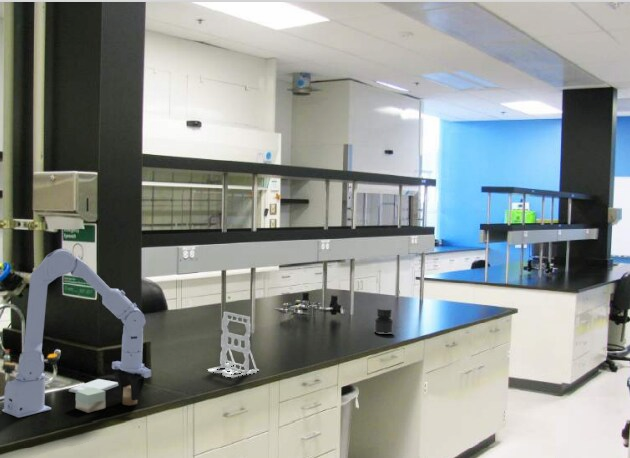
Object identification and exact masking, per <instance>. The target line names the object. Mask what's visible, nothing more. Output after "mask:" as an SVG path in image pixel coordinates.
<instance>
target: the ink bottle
mask: <svg viewBox="0 0 630 458" xmlns="http://www.w3.org/2000/svg"><path fill="white" fill-rule="evenodd" d="M376 311H377V312H376V315H377V317H376V318H375V319H374V330H373V332H374V331H376V332H384V333H388V332H392V331H394V320H393V319H392V312H393V310H392V308H388V307H387V308H386V307H378V308H377V309H376Z"/></svg>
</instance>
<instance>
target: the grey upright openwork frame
mask: <svg viewBox="0 0 630 458" xmlns="http://www.w3.org/2000/svg"><path fill="white" fill-rule="evenodd" d="M222 314H223V317H222V318H221V331H222V334H221V335H220V347H221V351H220V354H219V355H220V357H219V364H220V365H219V366H215V367H211V368H207V370H208V371H207V372H208V373H211V374H217V373H218V374H221V373H222V377H224V376H225V377H224V378H227V377H231V378H230V379H235V378H238V376H239V377H242V375H243V376H250V375H249V374H251V375H254V374H253V373H255V374H257V373H258V372H257V371H259V372H260V369H258V368H257V365H256V361H255V360H254V355H253V353H252V351H251V341H250V337H251V332H252V331H251V330H252V329H251V327H252V324H251V316H248V315H243V314H239V313H238V314H237V313H234V312H229V311H223V313H222ZM228 316H230V317H231V318H229V317H228ZM233 317H235V319H234V318H233ZM239 318H240V319H241V320H239ZM244 320H246V322H245V321H244ZM230 322H234V323H236V324H237V323H239V324H243V325H244V328H245V330H246V331H245V333H244V334H243V335H240V334H236V333H232V332H229V328H228V326H229V323H230ZM229 338H230V339H231V340H230V341H231V342H230V344H229ZM235 340H237V345H235ZM243 341H244V347H242V342H243ZM232 351H235V352H239V353H243V354H242V355H243V356H244V361H243V363H242V364H241V363H237V362H236V361H235V359H234V355H233V353H232ZM227 353H229V356H230V358H231V360H228V356H227ZM249 355H250V358H251V361H252V365H253V369H250V358H249ZM233 365H234V366H233ZM236 365H237V366H239V368H238V367H237V366H236ZM231 366H232V367H231ZM242 367H243V368H244V369H242ZM220 368H225V369H220ZM217 369H218V370H217ZM227 371H230V372H227ZM213 372H214V373H213ZM241 372H242V373H241ZM234 373H236V374H234ZM239 373H241V374H239ZM231 374H232V375H231ZM246 374H247V375H246Z"/></svg>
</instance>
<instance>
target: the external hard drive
mask: <svg viewBox="0 0 630 458" xmlns="http://www.w3.org/2000/svg"><path fill="white" fill-rule="evenodd" d="M92 387H94V388H97V389H100V390H103V391H105V392H106V391H108V390H111V389H113V388H117V387H119V385H118V382H117V381H111V380H108V379H107V380H106V379H103V378H102V379H101V378H96V379H94V380H90V381H88V382H86V383H83V384H79V385H76V386H74V387H71V388H69V389H68V392H69V393H75V394H76V391H79V390H83V389H88V388H92Z"/></svg>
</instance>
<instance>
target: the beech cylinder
mask: <svg viewBox="0 0 630 458" xmlns="http://www.w3.org/2000/svg"><path fill="white" fill-rule="evenodd" d="M137 404H138V400H134V401H133V400H132V398H131V385H130V386H125V387H123V397H122V405H124V406H135V405H137Z"/></svg>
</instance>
